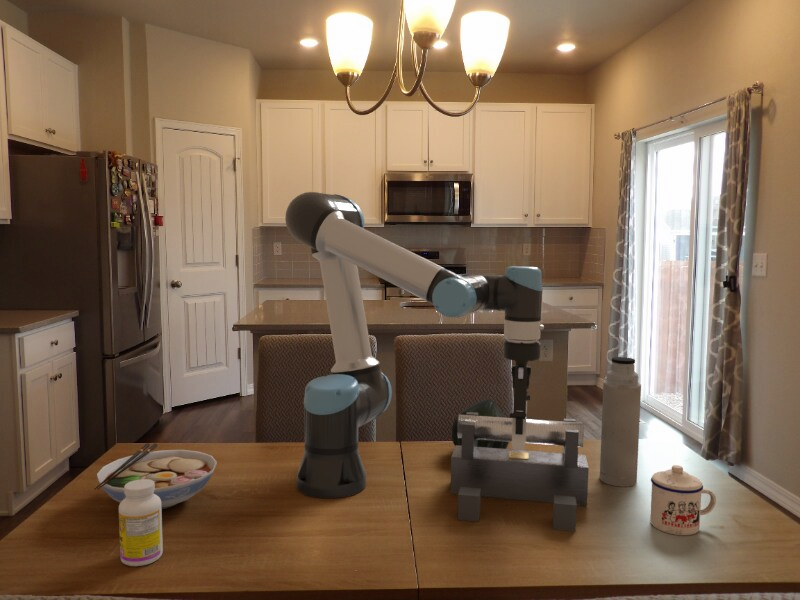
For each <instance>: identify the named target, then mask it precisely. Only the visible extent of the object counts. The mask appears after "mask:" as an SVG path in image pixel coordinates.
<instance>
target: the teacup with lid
mask: <svg viewBox="0 0 800 600" xmlns="http://www.w3.org/2000/svg"><path fill="white" fill-rule="evenodd" d="M650 482H651V495H650V496H651V498H650V499H651V500H650V518H649V519H650V520H649V521H650V523H651V524H652V526H653V527H654V528H655V529H657V530H659V531H661V532H663V533H667V534H671V535H675V536H693V535H695V534H697V533H698V532H699V531H700V525H701V524H700V523H701V522H700V521H701V516H705V515H709V513H711V512H712V511H713V510H714V508H715V506H716V503H717V498H716V495H715V493H714V492H713V491H712V490H710V489H708V488H704V485H703V482H702V481H701V480H700V478H698V477H696V476H695V475H692V474H689V473H688V472H686V471H684V468H683V466H681V465H677V464H673V465H672V466H671V468H670V469H666V470H663V471H662V470H661V471H658V472H655V473H653V474H652V476H651V478H650ZM702 494H708V495H709V496H710V500H709V503H708V505H707V506H706V507H705V508H703V509H701V507H702V504H701V503H702Z"/></svg>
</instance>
